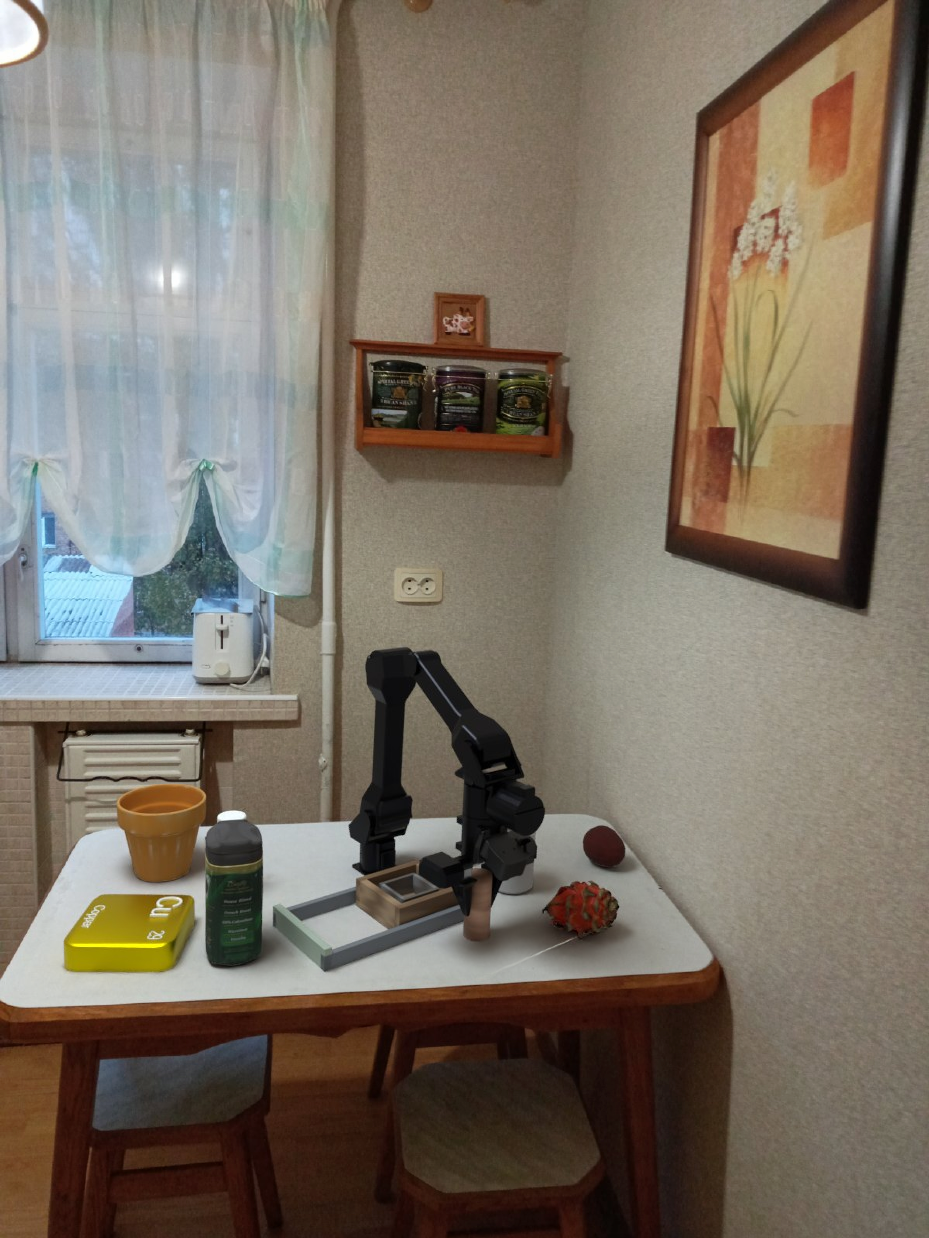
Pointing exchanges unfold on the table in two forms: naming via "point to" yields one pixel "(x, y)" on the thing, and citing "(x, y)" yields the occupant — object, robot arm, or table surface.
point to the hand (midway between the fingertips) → (477, 911)
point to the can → (519, 879)
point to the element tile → (130, 933)
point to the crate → (401, 895)
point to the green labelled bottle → (233, 892)
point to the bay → (330, 958)
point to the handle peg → (479, 907)
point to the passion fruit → (604, 846)
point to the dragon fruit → (582, 908)
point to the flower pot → (161, 828)
